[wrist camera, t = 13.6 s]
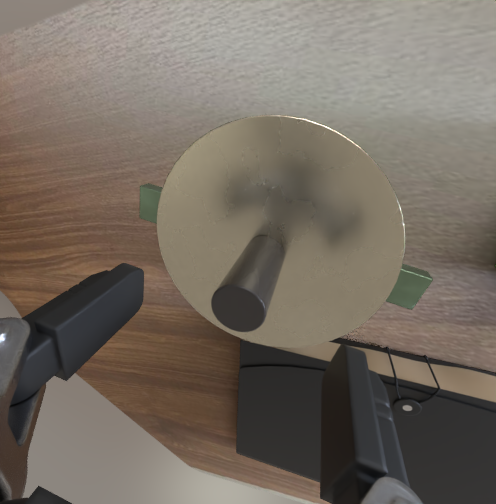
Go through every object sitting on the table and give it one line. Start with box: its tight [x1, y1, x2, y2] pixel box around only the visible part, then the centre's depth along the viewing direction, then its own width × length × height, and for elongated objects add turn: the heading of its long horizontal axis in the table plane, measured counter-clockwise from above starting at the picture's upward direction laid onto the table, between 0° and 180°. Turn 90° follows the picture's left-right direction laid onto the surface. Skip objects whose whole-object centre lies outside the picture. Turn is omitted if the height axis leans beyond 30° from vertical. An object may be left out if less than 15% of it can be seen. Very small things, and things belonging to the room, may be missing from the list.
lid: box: [157, 115, 405, 348], centre depth 13 cm, size 15×15×7 cm
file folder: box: [236, 338, 496, 504], centre depth 29 cm, size 33×4×24 cm
